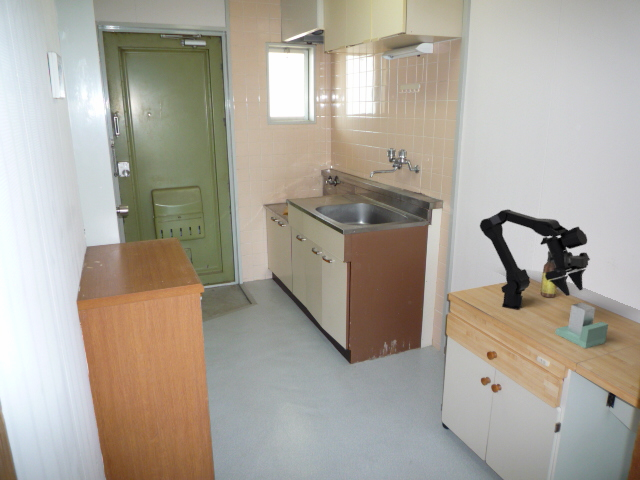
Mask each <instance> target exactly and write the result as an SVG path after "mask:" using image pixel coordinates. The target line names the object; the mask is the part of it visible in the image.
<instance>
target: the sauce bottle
mask: <svg viewBox="0 0 640 480" xmlns="http://www.w3.org/2000/svg"><path fill="white" fill-rule="evenodd" d="M551 255H552V254H550V251H549V250H548V252H547V259H546V260H547V261H546V262H545V264H544V265H543V269H542V270H543V271H542V275H541V283H540V284H541V285H540V295H541V296H542V297H545V298H550V299H551V298H554V297H556V293H557V291H558V287H557V286H556V285H554V284H553V283H552V282H550V280H552V279H550V280H547V279H546V277H545V274H546V272H549V271H552V270H554V268H556V267H555V264H554V262H553V260H551V261H550V258H552V257H551Z"/></svg>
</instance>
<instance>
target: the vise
mask: <svg viewBox="0 0 640 480" xmlns="http://www.w3.org/2000/svg"><path fill="white" fill-rule="evenodd" d="M608 329H609V323H605V322H604V321H599V322H596V323H593V324H591V325H587V326H583V327H582V330H581V336H578V335H576V334H573V333H571V332H569V331H568V325H565V326H560V327H558V328H555V331H554V334H555V335H557V336H559V337H561V338H564V339H566V340H567V341H569V342H571V343H573V344H575V345H577V346H579V347H581V348H583V349H589V348H593V347H596V346H599V345H601V344H605V343H606V340H607V334H608Z"/></svg>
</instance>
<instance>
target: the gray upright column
mask: <svg viewBox="0 0 640 480" xmlns="http://www.w3.org/2000/svg"><path fill="white" fill-rule="evenodd" d="M595 312H596V307H594V306H592V305H589V304H587V303H585V302H579V303H575V304H571V307H570V313H569V318H568V319H569V320H568V325H567V326H568V331H569V332H571V333H573V334H576V335H578V336H581V330H582V327H583V326H587V325H591V324H594V319H595V318H594V317H595V314H596V313H595Z"/></svg>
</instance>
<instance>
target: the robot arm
mask: <svg viewBox="0 0 640 480" xmlns="http://www.w3.org/2000/svg"><path fill="white" fill-rule="evenodd" d="M507 222H509V223H512V224H516V225H519V226H522V227H524V228H528V229H530V230H533V232H534V233H536V234H538V235H540V236H542V240H541V242H540V246H542V245H546V247H547V249H548V251H550V254H552V255H551V257H552V258H550V261H551V260H553V262H554V264H555V267H556V268H554V270H552V271H549V272H546V274H545V277H546V279H547V280H550V279H552V280H550V282H552V283H553V284H554V285H556V286H557V289H558V290H560V291H561V292H562V293H563V294H564V295H565V296H566V297H568V296H570V295H571V294H570V290H569V287H568V283H567V280H568V277H569V279H570V280H571V281H572V282H573V284H574V285H575V287H576V288H577V290H578V291H582V290H583V289H584V287H583V274H584V272H585V271H586V270H587V269H586V268H588V266H589V261H590V260H591V258H590V256H589V255H588V253H587V252H580V253H579V255H573V253H572V252H571V251H568V249H570V250H571V249H575V248H578V247H581V246H585V245H587V243H588V237H587V234H586V233H584V231H583V230H582V229H580V226H575V227H571V229H568V228H566V227H564V226H563V225H561V224H560V222H559V221H558V220H557V219H552V218H538V217H537V218H536V217H534V216H530V215H527V214H525V213H524V214H523V213H520V212H516V211H513V210H511V209H508V208H507V209H503V210H500V211H499V212H498V213H496V214H494V215H492V216H490V217H488V218H484V219H482V220H481V221H480V224H479V228H480V231H481V232H482V233H483V235H484V236H485V237H487V238H488V239H489V240H490V241H491V244H492V245H493V248H494V249H495V251H496V253H497V256H498V258H499V259H500V262H501V264H502V266H503V268H504V269H505V272H506V275H505V280H506V284H504V285H502V286H501V293H503V303H502V304H501V306H502V308H508V309H513V310H520V308H522V304H523V300H524V299H523V297H524V295H523V294H522V292H525V290H526V289H527V288H528V287H529V286H530V283H531V280H530V279H531V277H530V275H529V274H528V273H527V270H526V269H525V268H524V269H521V268H520V267H519V266H518V264H517V262H516V260H515V258H514V256H513V254H512V252H511V250H510V248H509V245H508V243H507V242H506V240H505V238H504V234H503V232H504V231H503V230H504V228H503V225H504V224H505V223H507ZM559 236H560V237H559Z"/></svg>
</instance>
